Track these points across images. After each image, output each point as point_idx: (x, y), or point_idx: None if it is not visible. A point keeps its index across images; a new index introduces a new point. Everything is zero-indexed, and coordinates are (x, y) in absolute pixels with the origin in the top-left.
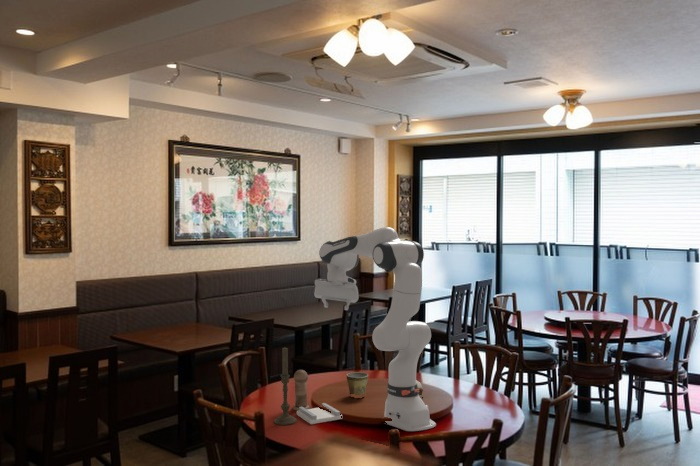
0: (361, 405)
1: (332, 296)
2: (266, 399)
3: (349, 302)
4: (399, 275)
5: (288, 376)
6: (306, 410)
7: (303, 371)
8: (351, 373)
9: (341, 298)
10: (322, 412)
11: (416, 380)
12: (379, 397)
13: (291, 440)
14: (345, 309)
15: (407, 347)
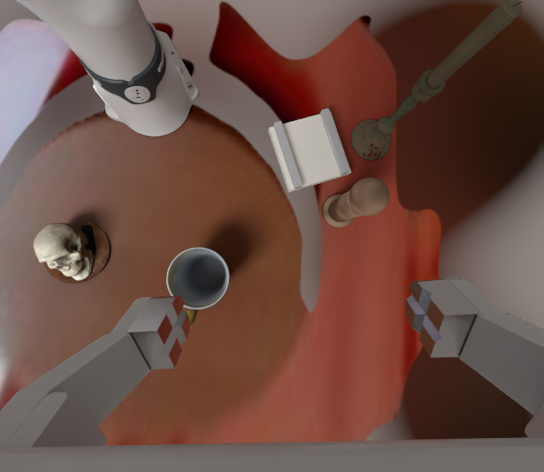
0: (214, 206)
1: (464, 443)
2: (401, 288)
3: (52, 381)
4: None
5: (424, 72)
6: (337, 145)
7: (370, 184)
8: (210, 303)
9: (186, 450)
10: (304, 152)
11: (37, 244)
12: (160, 256)
13: (364, 48)
14: (178, 308)
15: None
